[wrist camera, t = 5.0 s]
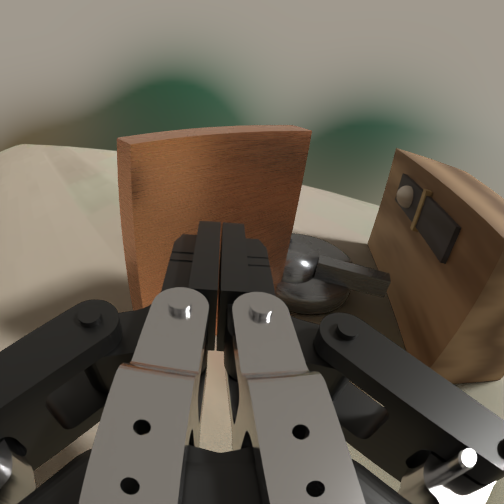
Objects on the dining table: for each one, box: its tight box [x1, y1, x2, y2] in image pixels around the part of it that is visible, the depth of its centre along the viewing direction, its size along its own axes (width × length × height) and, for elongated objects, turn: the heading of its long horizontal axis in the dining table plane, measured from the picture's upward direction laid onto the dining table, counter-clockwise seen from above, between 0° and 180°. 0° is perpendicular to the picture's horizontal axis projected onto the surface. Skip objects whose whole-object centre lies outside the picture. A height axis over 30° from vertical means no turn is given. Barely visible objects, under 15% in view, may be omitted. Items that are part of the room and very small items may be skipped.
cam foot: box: [117, 125, 391, 335], centre depth 20 cm, size 20×14×13 cm
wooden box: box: [368, 148, 504, 384], centre depth 23 cm, size 12×20×12 cm, turn 174°
